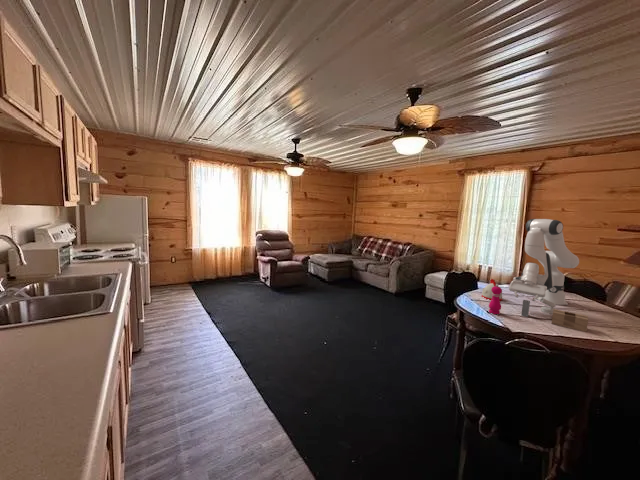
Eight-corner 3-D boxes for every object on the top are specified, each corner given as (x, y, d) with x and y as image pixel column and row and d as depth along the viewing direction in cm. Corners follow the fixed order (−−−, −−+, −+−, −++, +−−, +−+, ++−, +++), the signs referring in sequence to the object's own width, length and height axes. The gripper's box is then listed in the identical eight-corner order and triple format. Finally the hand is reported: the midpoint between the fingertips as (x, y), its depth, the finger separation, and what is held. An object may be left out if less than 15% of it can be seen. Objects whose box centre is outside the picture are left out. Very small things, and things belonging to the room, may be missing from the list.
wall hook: (537, 296, 201) (553, 297, 199) (536, 309, 202) (552, 310, 200) (544, 300, 192) (561, 301, 190) (542, 313, 194) (559, 315, 192)
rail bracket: (522, 313, 192) (523, 299, 190) (528, 315, 189) (530, 300, 188) (521, 315, 189) (522, 301, 187) (527, 317, 186) (529, 302, 185)
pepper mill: (485, 311, 195) (488, 282, 193) (495, 310, 196) (498, 282, 193) (492, 315, 188) (495, 285, 186) (503, 315, 189) (506, 285, 186)
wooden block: (552, 320, 182) (553, 308, 181) (585, 327, 172) (587, 315, 171) (551, 323, 176) (552, 312, 175) (586, 331, 166) (588, 319, 165)
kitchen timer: (496, 295, 230) (498, 277, 228) (505, 301, 217) (507, 282, 215) (478, 294, 232) (480, 277, 230) (486, 300, 218) (488, 281, 216)
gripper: (547, 288, 193) (544, 305, 187) (511, 281, 206) (507, 297, 200) (547, 282, 189) (544, 300, 183) (511, 276, 202) (507, 292, 196)
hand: (525, 298), depth 192 cm, fingers open, 8 cm apart
